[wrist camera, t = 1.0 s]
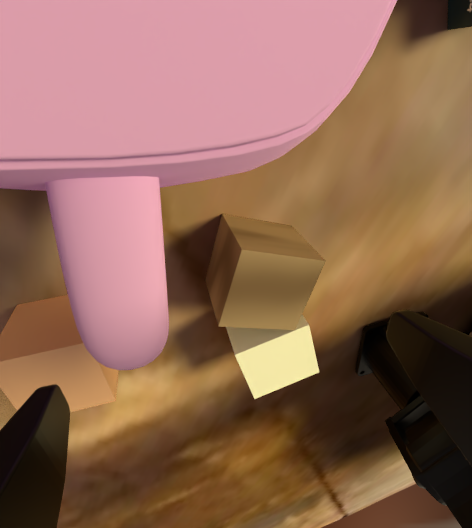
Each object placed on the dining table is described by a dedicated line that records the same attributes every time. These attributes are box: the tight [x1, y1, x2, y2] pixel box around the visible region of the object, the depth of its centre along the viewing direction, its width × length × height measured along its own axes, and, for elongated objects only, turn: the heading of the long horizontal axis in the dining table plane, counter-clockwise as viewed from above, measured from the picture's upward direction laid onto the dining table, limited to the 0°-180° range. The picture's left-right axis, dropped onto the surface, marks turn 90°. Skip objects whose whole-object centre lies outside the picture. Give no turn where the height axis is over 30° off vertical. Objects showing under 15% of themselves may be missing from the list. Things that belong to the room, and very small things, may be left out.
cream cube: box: [226, 315, 319, 399], centre depth 23 cm, size 5×5×5 cm
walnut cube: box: [205, 214, 325, 330], centre depth 20 cm, size 5×5×5 cm
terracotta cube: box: [0, 295, 119, 412], centre depth 19 cm, size 5×5×5 cm
